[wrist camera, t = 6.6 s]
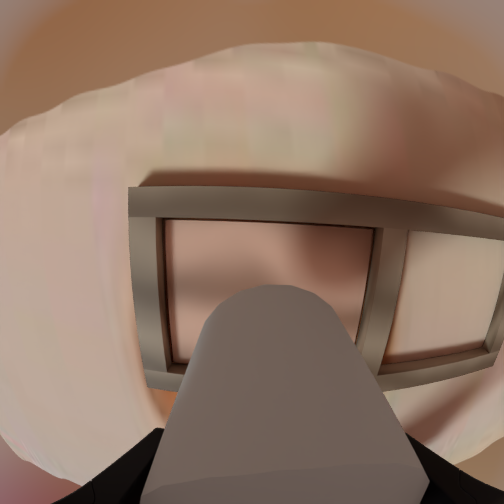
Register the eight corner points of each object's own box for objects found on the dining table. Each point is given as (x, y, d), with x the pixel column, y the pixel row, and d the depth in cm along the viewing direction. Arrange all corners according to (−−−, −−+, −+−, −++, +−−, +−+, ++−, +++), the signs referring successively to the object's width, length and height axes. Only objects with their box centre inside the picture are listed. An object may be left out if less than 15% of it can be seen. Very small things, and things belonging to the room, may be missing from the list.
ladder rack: (486, 359, 22) (493, 365, 20) (152, 377, 22) (147, 387, 20) (520, 222, 18) (530, 224, 17) (137, 187, 18) (128, 187, 17)
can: (195, 385, 15) (142, 573, 3) (211, 264, 13) (75, 511, 2) (318, 401, 15) (358, 578, 3) (358, 291, 13) (514, 479, 2)
